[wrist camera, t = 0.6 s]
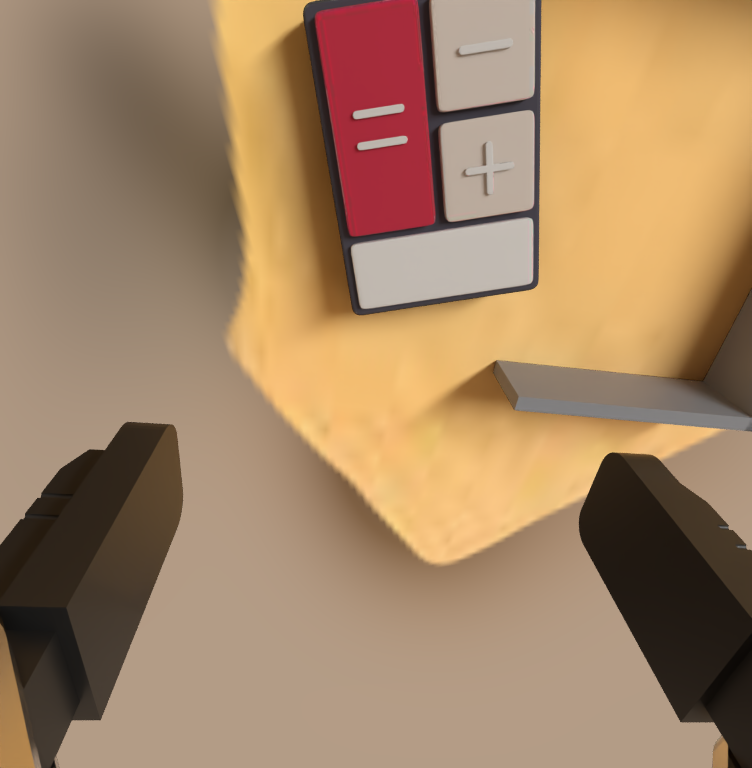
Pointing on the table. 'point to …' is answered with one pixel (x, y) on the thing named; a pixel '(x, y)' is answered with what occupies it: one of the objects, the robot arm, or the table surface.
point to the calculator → (431, 145)
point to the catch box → (643, 388)
